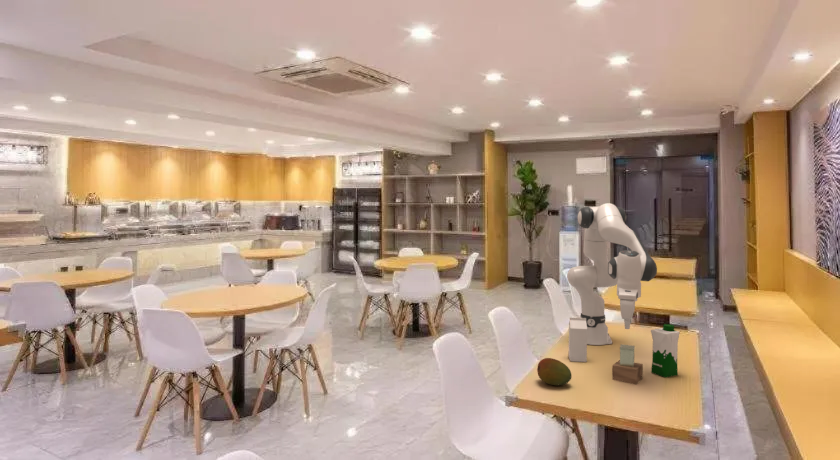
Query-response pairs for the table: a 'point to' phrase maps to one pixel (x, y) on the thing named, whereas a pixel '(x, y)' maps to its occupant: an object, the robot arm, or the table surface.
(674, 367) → the soya milk
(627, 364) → the grey wooden block
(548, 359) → the fruit
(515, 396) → the table surface
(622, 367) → the walnut block
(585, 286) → the robot arm
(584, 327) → the milk carton
